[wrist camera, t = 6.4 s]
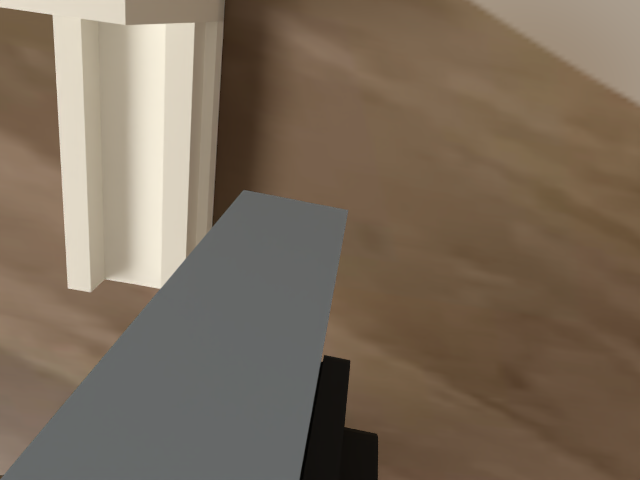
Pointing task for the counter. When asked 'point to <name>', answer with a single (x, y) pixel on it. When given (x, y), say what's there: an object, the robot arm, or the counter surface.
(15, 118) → the counter surface
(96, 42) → the door sill
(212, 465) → the door panel
